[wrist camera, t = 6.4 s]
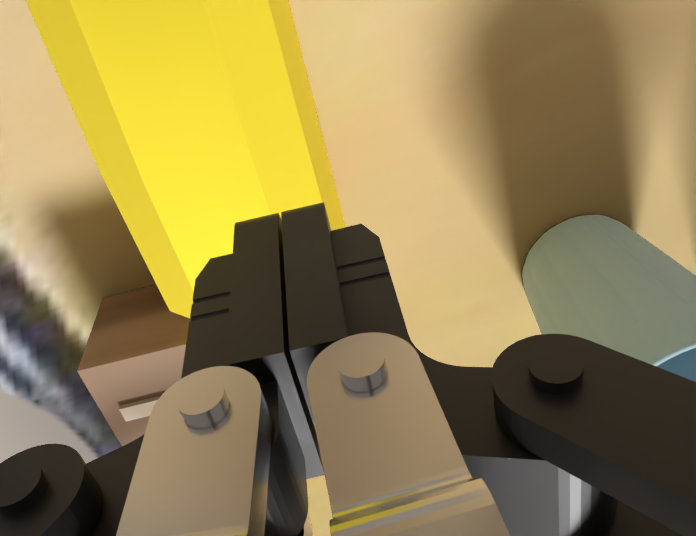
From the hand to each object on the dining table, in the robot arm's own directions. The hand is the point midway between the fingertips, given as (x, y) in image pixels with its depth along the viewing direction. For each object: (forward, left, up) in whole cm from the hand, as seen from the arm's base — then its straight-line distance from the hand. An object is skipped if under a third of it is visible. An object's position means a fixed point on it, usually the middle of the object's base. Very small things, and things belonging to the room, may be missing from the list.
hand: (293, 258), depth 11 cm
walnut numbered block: (+11, -8, -16) cm, 21 cm away
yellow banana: (+1, -3, -16) cm, 16 cm away
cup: (+13, +11, -16) cm, 23 cm away
